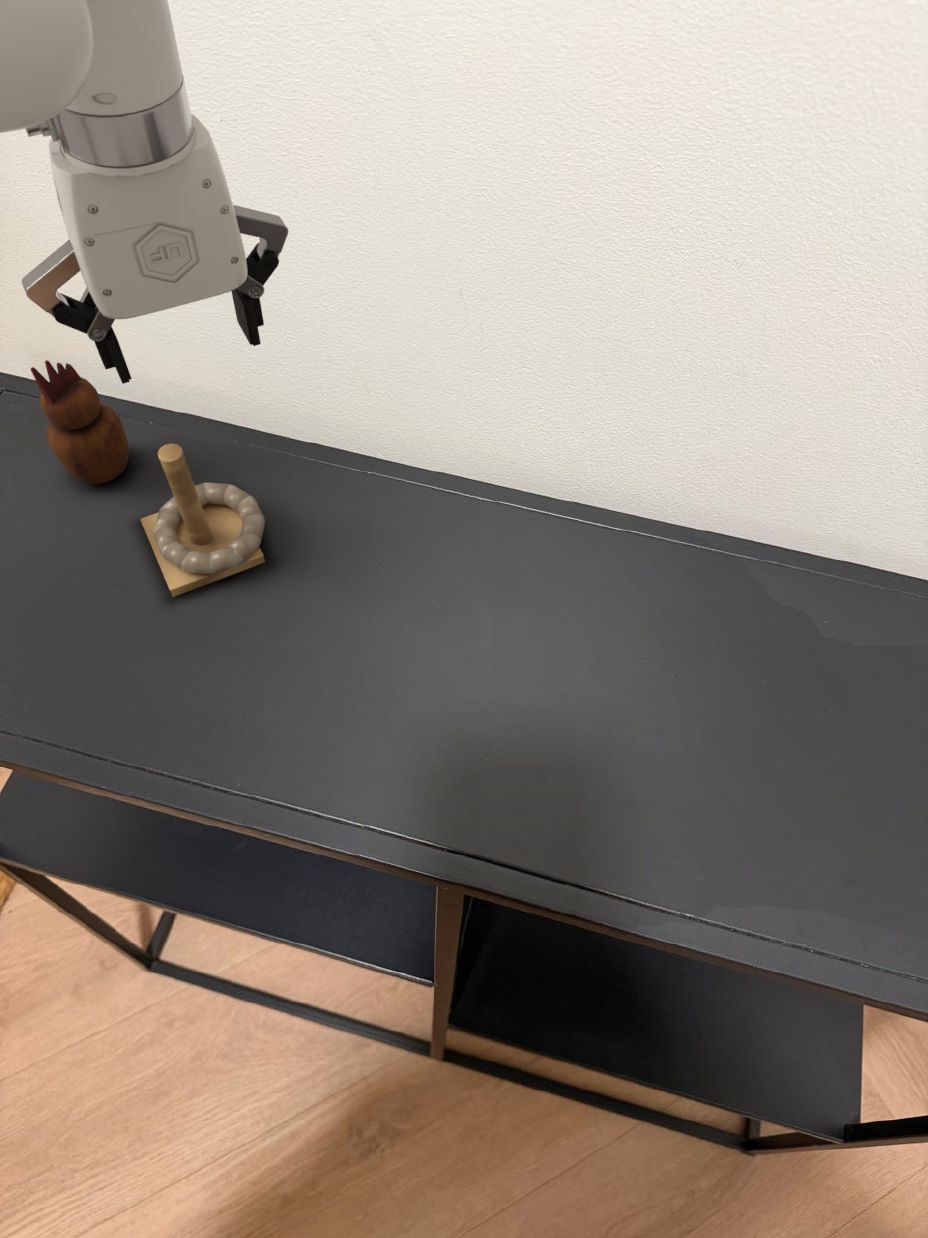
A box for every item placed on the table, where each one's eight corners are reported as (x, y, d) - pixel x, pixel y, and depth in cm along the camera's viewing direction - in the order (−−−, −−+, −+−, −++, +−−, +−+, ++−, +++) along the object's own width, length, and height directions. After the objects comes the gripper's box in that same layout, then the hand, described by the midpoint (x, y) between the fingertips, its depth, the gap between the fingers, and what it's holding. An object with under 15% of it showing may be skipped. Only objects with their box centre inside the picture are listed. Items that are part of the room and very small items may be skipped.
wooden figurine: (86, 503, 82) (26, 392, 69) (57, 467, 84) (-7, 352, 71) (148, 470, 85) (100, 356, 72) (118, 436, 86) (67, 319, 73)
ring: (176, 592, 76) (171, 581, 75) (144, 512, 80) (138, 499, 79) (280, 554, 79) (277, 542, 77) (244, 478, 83) (240, 465, 81)
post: (173, 597, 77) (132, 510, 66) (143, 525, 81) (99, 432, 70) (265, 562, 80) (241, 472, 68) (232, 494, 84) (204, 399, 72)
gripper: (-26, 184, 43) (81, 421, 58) (291, 118, 48) (316, 351, 63) (-55, 108, 46) (53, 351, 61) (245, 54, 51) (278, 290, 66)
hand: (186, 351), depth 62 cm, fingers open, 9 cm apart
